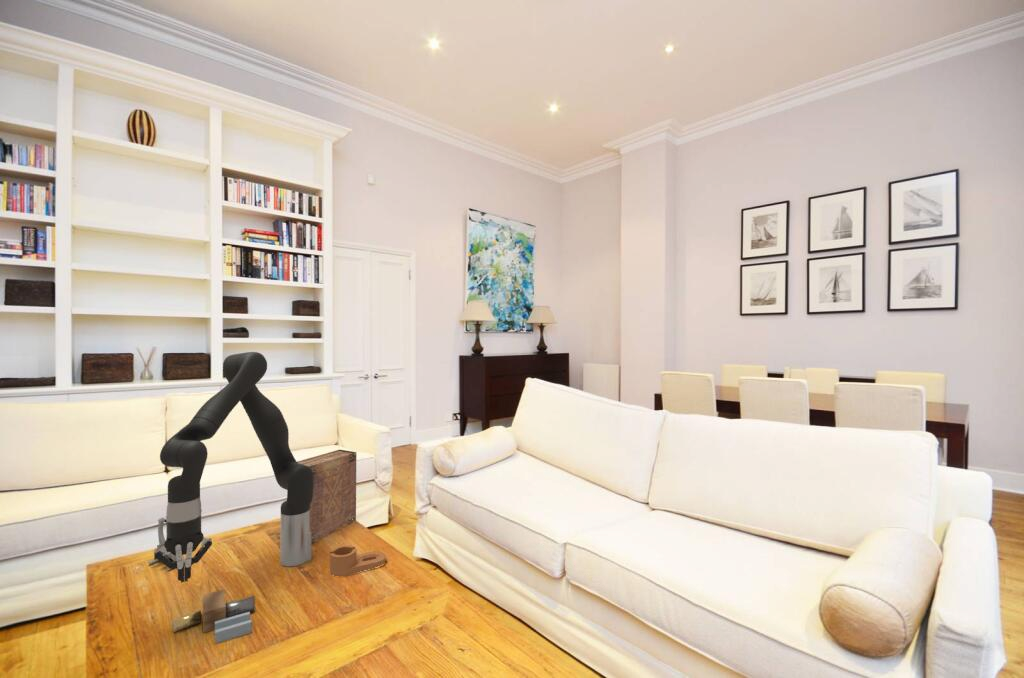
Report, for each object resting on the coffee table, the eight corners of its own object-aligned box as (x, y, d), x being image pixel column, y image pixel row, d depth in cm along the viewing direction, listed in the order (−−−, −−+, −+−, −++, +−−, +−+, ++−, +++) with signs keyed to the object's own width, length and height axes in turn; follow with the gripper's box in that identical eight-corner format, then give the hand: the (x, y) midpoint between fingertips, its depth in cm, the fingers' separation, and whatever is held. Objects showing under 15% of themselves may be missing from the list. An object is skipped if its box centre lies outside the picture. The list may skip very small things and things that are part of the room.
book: (304, 549, 167) (305, 467, 167) (287, 544, 171) (287, 464, 171) (356, 524, 190) (356, 451, 190) (339, 520, 194) (340, 449, 194)
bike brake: (192, 564, 156) (192, 506, 156) (171, 574, 149) (171, 513, 149) (165, 557, 161) (165, 500, 160) (143, 566, 154) (143, 507, 154)
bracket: (331, 580, 147) (331, 559, 147) (328, 569, 154) (328, 548, 154) (388, 567, 156) (388, 547, 155) (382, 557, 163) (382, 537, 163)
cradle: (249, 621, 125) (249, 611, 125) (251, 632, 121) (251, 621, 121) (214, 632, 121) (214, 621, 121) (215, 643, 116) (215, 632, 116)
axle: (253, 607, 133) (253, 593, 133) (254, 613, 129) (254, 599, 130) (212, 617, 127) (212, 604, 127) (212, 624, 124) (212, 610, 124)
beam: (224, 607, 132) (224, 589, 132) (225, 626, 123) (225, 606, 123) (202, 613, 129) (203, 594, 129) (203, 632, 121) (203, 612, 121)
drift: (202, 622, 124) (199, 622, 126) (201, 610, 125) (198, 610, 127) (175, 632, 120) (172, 632, 122) (174, 620, 121) (171, 619, 122)
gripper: (213, 505, 129) (213, 567, 129) (153, 516, 121) (153, 581, 121) (214, 514, 123) (214, 579, 123) (151, 526, 115) (151, 595, 115)
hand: (184, 580), depth 122 cm, fingers closed
